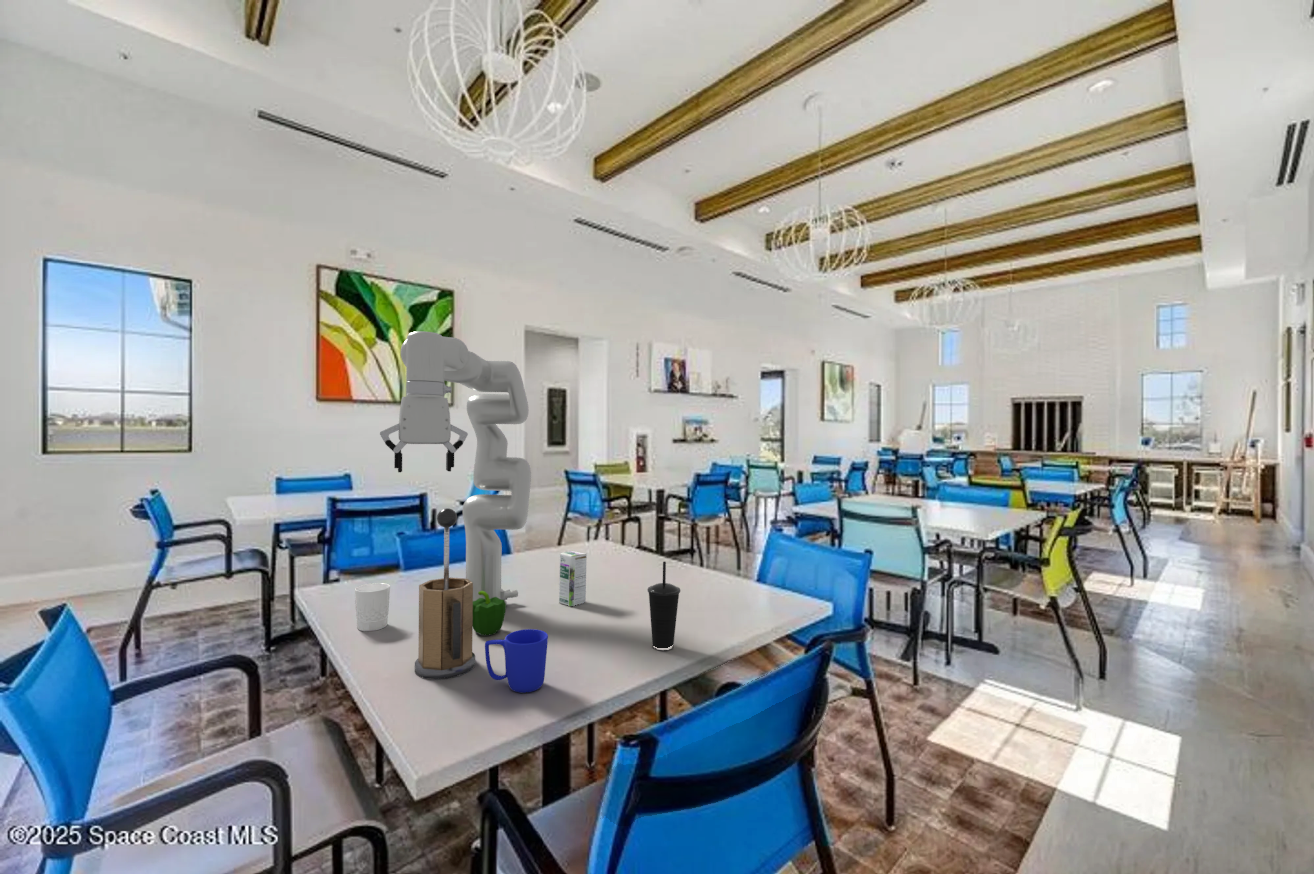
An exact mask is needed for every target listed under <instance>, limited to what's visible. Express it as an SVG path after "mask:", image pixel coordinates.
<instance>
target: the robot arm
mask: <svg viewBox="0 0 1314 874" xmlns="http://www.w3.org/2000/svg"><path fill="white" fill-rule="evenodd" d="M400 358H401V361H402V363H403V365H404V366H405V367H406V369H405V370H406V371H405V373H406V377H405V378H406V379H405V380H406V382H405V383H406V384H405V396H402V397H401V401H400V408H399V414H398V415H399V417H398V419H399V421H398V423H396V424H394V425H391V426H390V427H388V428H385V429H383V430H381V431H380V432H379V435H380V437H381V439H382V440H383V442H384V444H385V445H386V447H388V448H389V449H390V450H391V451H392V452H393V453H394V461H393V463H394V469H397V472H398V473H402V472H403V453H402V449H404V447H405V446H407V445H443V446H444V447H445V448H446V449H447V452H446V454H445V470H446V471H447V472H452V468H454V467H455V453H456V452H457V451H458V450H459V449H460V448H461V447H462V446H463V444H464V442H465V441H466V439H467V438H468V435H469V433H468V432H467V431H465V430H463V429H461V428H459V427H457V426H455V425H454V424H451V413H450V404H449V400H448V397H445V395H446V394H449V393H452V386H448V385H446V384H445V382H450V383H455V384H459V385H462V386H465V387H467V388H469V389H471V390H473V391H475V392H480V394H479V393H478V394H475V395H472V396H469V398H468V399H467V401H466V412H467V413H466V414H467V415H468V418H469V420H470V423H471V425H472V428H473V430H474V434H475V437H476V451H475V458H474V465H473V466H474V467H473V475H472V476H473V477H472V479H473V485H474V487H476V489H479V490H482V491H495V492H496V491H499V492H500V491H502V492H504V491H505V492H511V494H485V493H484V494H475V495H472V496H469V497H468V498H467V499H466V500H465V501H464V503H463V505H462V519H463V522H464V531H465V579H468V580H470V581H471V582H472V583H473V601H476V600H477V599H479V598H484V599H485V596H484V595H479V594H478V592H480V591H485V592H486V593H487V594H488V595H489V599H490V598H493V597H497V598H499V599H502V600H504V601H505V603H506V607H507V605H508V604H507V603H508V602H507V600H508V599H511V598H512V599H513V598H518V596H519V592H518V590H517V589H516V590H511V589H505V590H504V589H503V588H502V553H503V552H502V551H503V550H502V547H503V546H502V542H501V539H500V537H499V536H498V534H497V533H496V531H495V530H503V531H504V530H508V531H509V530H510V531H512V530H514V531H515V530H516V531H517V530H520V529H522V528H524V526H526V523H527V520H528V515H529V514H528V513H529V505H530V494H531V484H532V483H531V482H532V470H531V465H530V463H529V462H528V460H527V459H524V458H523V457H515V456H514V457H513V456H512V457H510V456H508V455H507V454H508V445H509V443H508V439H507V437H506V435H505V434H504V432H503V431H502V430H501V429H500V428H499V426H498V425H521V424H524V423H525V422H526V420H527V419H528V417H529V404H528V403H529V402H528V398H527V393H526V391H525V386H524V381H523V378H522V375H521V372H520V370H519V368H518V366H517V365H516V364H515V363H514V362H513V361H509V360H507V361H506V360H485V358H483V357H481V356H479V355H478V354H476V353H475V352H473V351H470V350H469V348H468V346H467V344H465V342H464V341H463V340H461V339H460V338H457V337H453V336H451V337H450V336H449V337H448V336H442V334H440V333H438V332H434V331H423V330H422V331H420V330H419V331H418V330H417V331H413V332H409V333H408V335H407V336H406V339H405V340H404V342H403V343H402V344H401V348H400ZM481 393H482V394H481ZM502 393H503V394H502ZM504 393H505V394H504ZM506 393H507V394H506ZM397 431H398V440H399V442H398V443H397V444H395V443H394V442H393V441H392V440H391V438H390V435H391V434H393V433H395V432H397ZM451 432H453V433H454V434H456V435H457V436H459V437H458V439H457V440H456V441H455V442H454V443H453V444H452V442H451V435H452V434H451ZM507 456H508V457H507Z"/></svg>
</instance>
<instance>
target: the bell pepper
mask: <svg viewBox="0 0 1314 874" xmlns="http://www.w3.org/2000/svg"><path fill="white" fill-rule="evenodd" d="M478 594H479V595H484V596H485V599H484V598H479V599H477V600H476V601H473V630H474V632H475V633H477V634H478V635H480V636H492V635H493V636H494V635H495V634H496V633H497V632H499V631H500V630H501V629H502V627H503V624H504V621H505V616H506V609H507V606H506V603H505V601H506V600H505V601H504V600H502V599H499V598H497V597H493V598H490V599H489V595H488V594H487V593H486V592H485V591H480V592H478Z"/></svg>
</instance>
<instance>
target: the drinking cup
mask: <svg viewBox="0 0 1314 874" xmlns="http://www.w3.org/2000/svg"><path fill="white" fill-rule="evenodd" d="M666 566H667V562H666V561H663V562H662V582H659V583H656V584H653V585H650V586H649V587H648V588H647V592H648V599H649V600H648V601H649V602H648V603H649V616H650V625H651V626H650V627H651V628H650V629H651V641H652V642H651V643H652V644H653V645H652V647H653V646H655V647H657V648H668V647H670V646H672V645H673V644H674V642H675V637H676V636H675V634H676V625H677V615H678V614H677V613H678V606H679V598H680V593H681V588H680V587H679V586H676V585H674V584H673V583H672V584H671V583H667V582H666V579H667V578H666V576H667V575H666V574H667V567H666ZM673 646H674V645H673Z"/></svg>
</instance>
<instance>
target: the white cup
mask: <svg viewBox="0 0 1314 874" xmlns="http://www.w3.org/2000/svg"><path fill="white" fill-rule="evenodd" d="M390 591H391V584H388V583H385V582H374V583H373V582H372V583H366V584H362V585H359V586H357V587H355V588H354V597H355V598H354V599H355V601H354V602H355V603H354V604H355V617H356V629H357V630H358V631H361V632H373V631H378V630H381V629H384V628H386V627H387V625H388V621H389V619H388V618H389V607H390V597H391V596H390V593H391V592H390Z"/></svg>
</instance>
